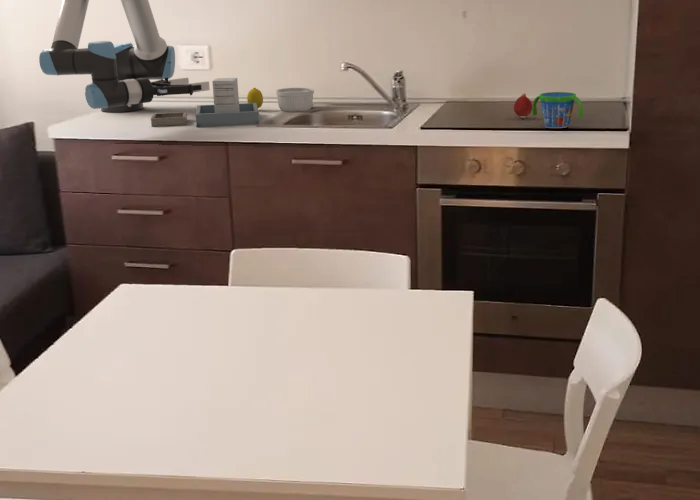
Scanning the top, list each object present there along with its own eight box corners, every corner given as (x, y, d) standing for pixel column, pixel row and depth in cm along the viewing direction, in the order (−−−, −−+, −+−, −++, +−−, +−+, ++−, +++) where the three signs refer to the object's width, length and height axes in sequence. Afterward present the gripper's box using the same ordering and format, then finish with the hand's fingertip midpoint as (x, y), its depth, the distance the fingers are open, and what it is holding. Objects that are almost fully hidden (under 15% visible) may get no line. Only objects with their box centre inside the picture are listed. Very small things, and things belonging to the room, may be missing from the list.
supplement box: (218, 116, 296) (215, 77, 292) (240, 115, 295) (238, 77, 291) (214, 119, 289) (211, 80, 285) (237, 119, 288) (234, 80, 284)
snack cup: (524, 128, 265) (525, 94, 262) (544, 123, 272) (545, 90, 269) (568, 133, 254) (570, 98, 251) (588, 128, 261) (590, 94, 258)
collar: (154, 120, 296) (153, 113, 295) (187, 119, 297) (186, 111, 296) (151, 126, 285) (150, 118, 284) (186, 124, 287) (185, 117, 286)
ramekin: (320, 107, 314) (320, 88, 312) (303, 113, 303) (302, 93, 301) (288, 106, 320) (287, 86, 318) (270, 111, 309) (269, 91, 306)
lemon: (256, 112, 308) (254, 89, 305) (244, 110, 311) (243, 88, 309) (266, 109, 312) (265, 87, 310) (255, 108, 315) (254, 86, 313)
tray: (198, 117, 301) (197, 105, 299) (256, 114, 303) (256, 102, 302) (196, 127, 282) (195, 114, 281) (259, 123, 284) (258, 111, 283)
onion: (512, 120, 278) (513, 94, 276) (514, 117, 284) (514, 92, 281) (531, 120, 277) (532, 94, 275) (532, 117, 282) (533, 92, 280)
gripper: (121, 99, 281) (181, 91, 293) (156, 108, 262) (218, 99, 274) (118, 75, 278) (179, 68, 291) (153, 82, 260) (216, 75, 272)
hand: (198, 83), depth 283 cm, fingers open, 13 cm apart
